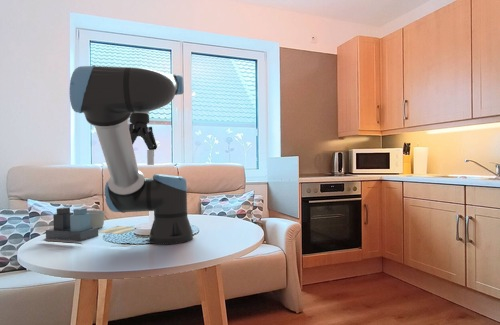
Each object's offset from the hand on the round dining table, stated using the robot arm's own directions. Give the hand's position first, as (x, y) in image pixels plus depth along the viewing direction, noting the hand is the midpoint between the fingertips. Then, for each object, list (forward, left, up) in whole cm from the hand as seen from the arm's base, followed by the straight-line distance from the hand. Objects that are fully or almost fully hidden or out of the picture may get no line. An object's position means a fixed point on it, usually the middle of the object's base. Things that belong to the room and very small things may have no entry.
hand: (140, 165), depth 127 cm
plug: (+12, +19, -26) cm, 35 cm away
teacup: (+21, +6, -27) cm, 35 cm away
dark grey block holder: (+16, +19, -27) cm, 36 cm away
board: (+7, +5, -27) cm, 28 cm away
